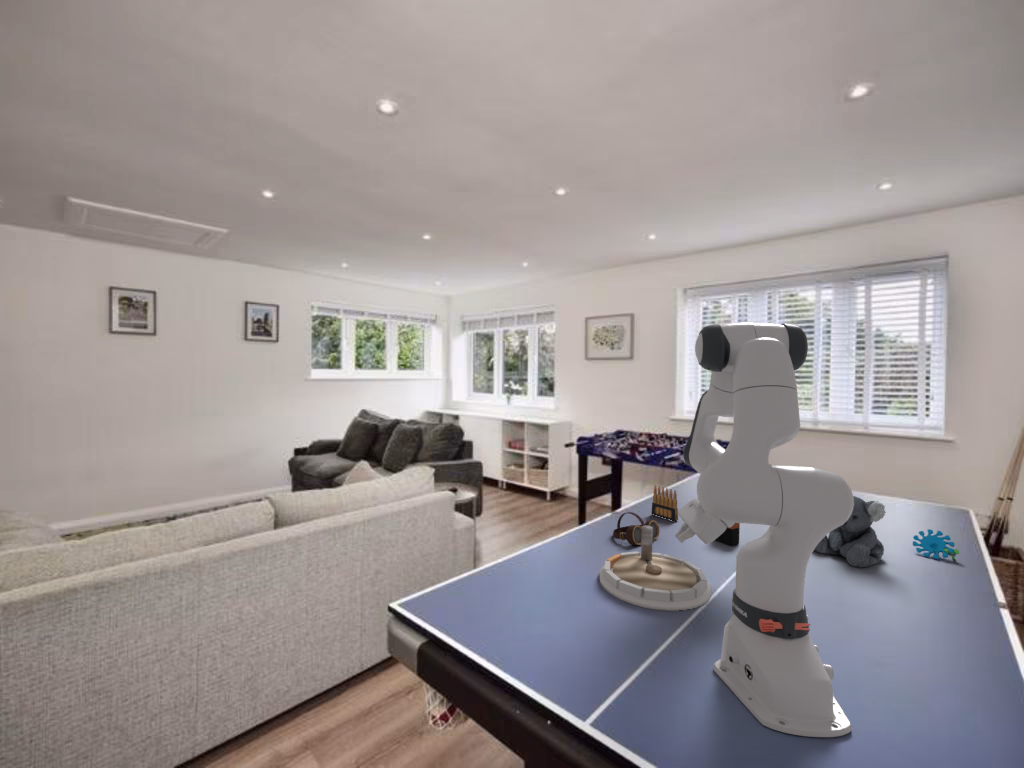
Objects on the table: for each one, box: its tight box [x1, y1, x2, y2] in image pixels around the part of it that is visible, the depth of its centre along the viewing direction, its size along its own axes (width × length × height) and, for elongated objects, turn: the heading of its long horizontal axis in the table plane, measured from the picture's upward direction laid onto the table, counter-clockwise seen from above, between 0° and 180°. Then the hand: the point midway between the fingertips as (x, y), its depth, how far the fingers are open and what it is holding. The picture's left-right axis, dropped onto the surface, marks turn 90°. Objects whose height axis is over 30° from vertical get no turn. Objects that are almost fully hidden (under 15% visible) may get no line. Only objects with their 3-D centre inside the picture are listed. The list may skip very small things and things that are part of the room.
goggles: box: [612, 511, 660, 546], centre depth 159 cm, size 15×13×10 cm
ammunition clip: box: [651, 485, 679, 522], centre depth 181 cm, size 11×2×12 cm, turn 37°
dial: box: [613, 525, 696, 593], centre depth 124 cm, size 21×21×10 cm
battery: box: [714, 523, 741, 547], centre depth 156 cm, size 4×7×10 cm, turn 29°
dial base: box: [599, 550, 712, 612], centre depth 124 cm, size 28×28×4 cm
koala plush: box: [814, 495, 887, 569], centre depth 146 cm, size 17×18×20 cm
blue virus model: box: [912, 529, 960, 560], centre depth 147 cm, size 11×6×10 cm
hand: (677, 539), depth 132 cm, fingers closed
